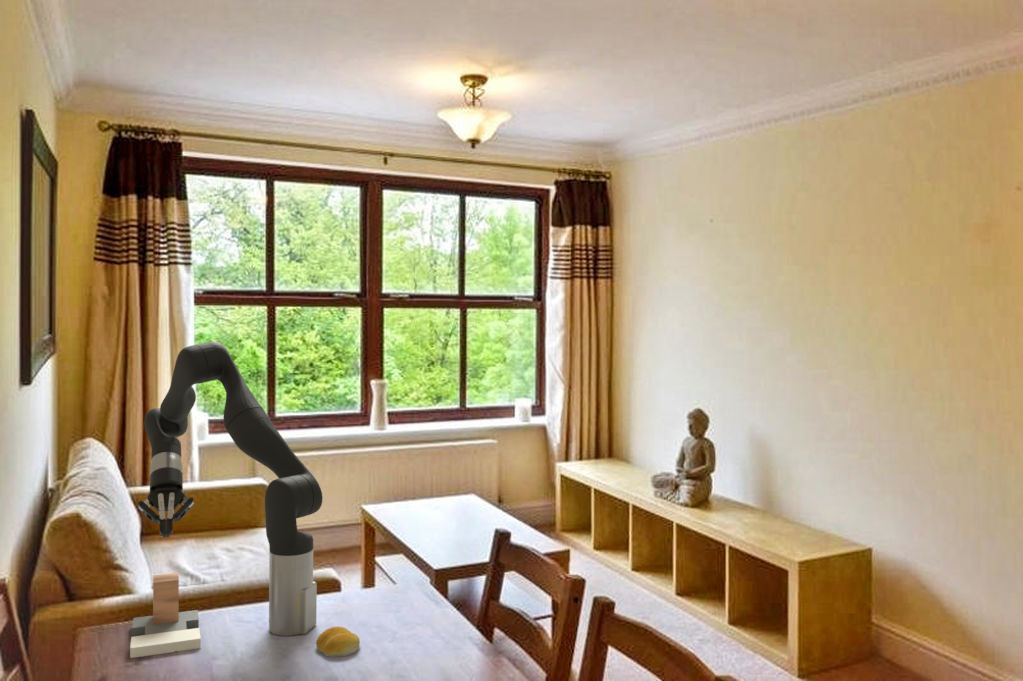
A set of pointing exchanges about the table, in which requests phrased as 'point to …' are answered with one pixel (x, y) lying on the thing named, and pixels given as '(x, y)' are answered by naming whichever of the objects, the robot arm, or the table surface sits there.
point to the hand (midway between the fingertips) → (166, 535)
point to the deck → (165, 624)
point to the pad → (165, 642)
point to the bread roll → (337, 642)
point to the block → (165, 598)
